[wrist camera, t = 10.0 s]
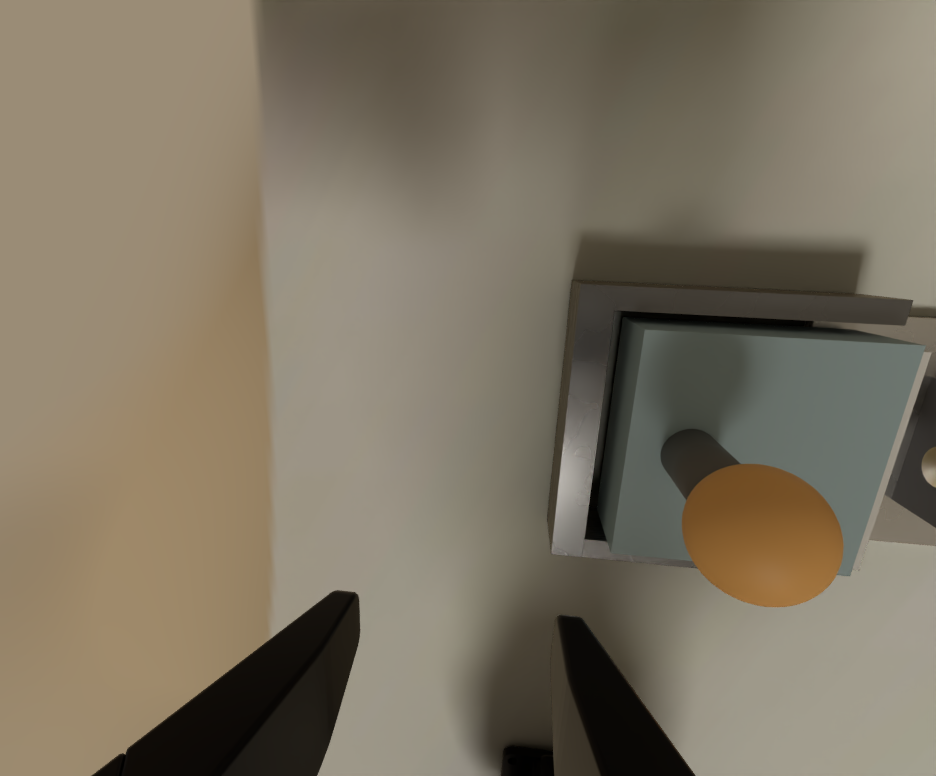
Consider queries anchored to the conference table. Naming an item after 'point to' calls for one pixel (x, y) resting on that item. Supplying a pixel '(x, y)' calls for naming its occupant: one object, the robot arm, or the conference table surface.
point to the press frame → (597, 300)
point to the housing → (921, 464)
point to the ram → (754, 449)
